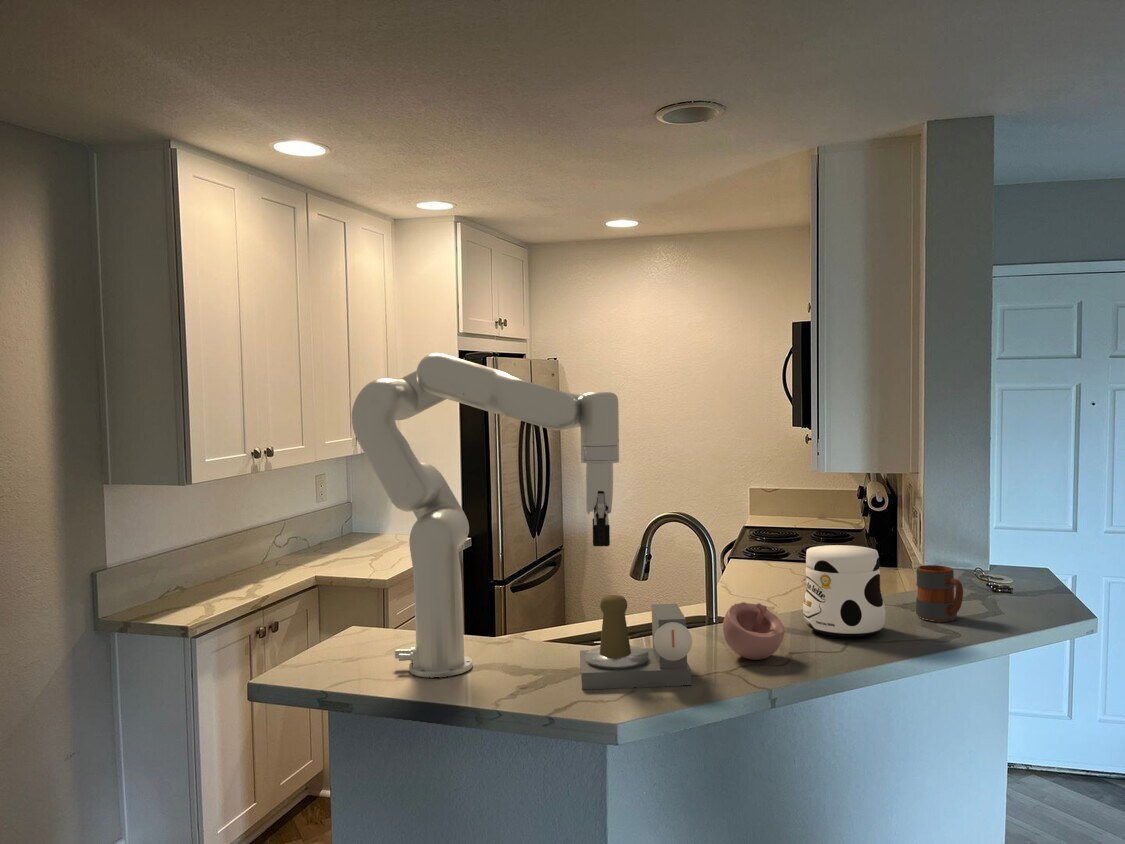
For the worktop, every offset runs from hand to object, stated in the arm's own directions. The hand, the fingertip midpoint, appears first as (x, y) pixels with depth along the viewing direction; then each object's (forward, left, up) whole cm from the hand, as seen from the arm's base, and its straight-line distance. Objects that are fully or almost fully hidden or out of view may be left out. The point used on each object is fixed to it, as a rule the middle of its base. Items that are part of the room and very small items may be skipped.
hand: (601, 541), depth 160 cm
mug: (+79, +27, -25) cm, 87 cm away
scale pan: (+2, -5, -22) cm, 22 cm away
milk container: (+54, +20, -25) cm, 63 cm away
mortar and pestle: (+30, +3, -25) cm, 39 cm away
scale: (+5, -5, -25) cm, 26 cm away
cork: (+2, -4, -21) cm, 21 cm away
